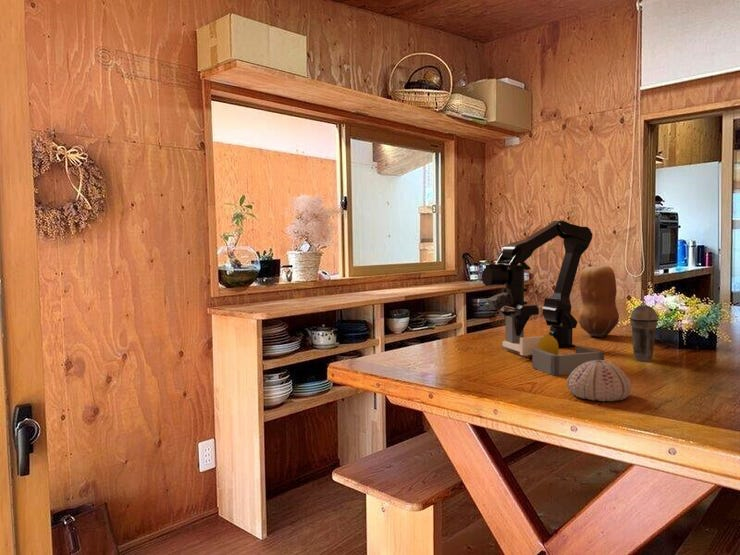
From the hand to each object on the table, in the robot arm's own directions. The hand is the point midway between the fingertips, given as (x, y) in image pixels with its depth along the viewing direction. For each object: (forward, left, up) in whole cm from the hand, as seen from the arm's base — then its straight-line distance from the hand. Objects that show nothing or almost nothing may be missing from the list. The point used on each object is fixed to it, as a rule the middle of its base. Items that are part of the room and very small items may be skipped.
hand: (514, 334), depth 178 cm
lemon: (0, +18, -5) cm, 19 cm away
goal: (0, +27, -5) cm, 28 cm away
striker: (0, +6, -4) cm, 7 cm away
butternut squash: (-40, -12, -5) cm, 42 cm away
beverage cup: (-27, +24, -5) cm, 37 cm away
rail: (0, +3, -5) cm, 6 cm away
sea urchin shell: (+9, +51, -5) cm, 52 cm away
